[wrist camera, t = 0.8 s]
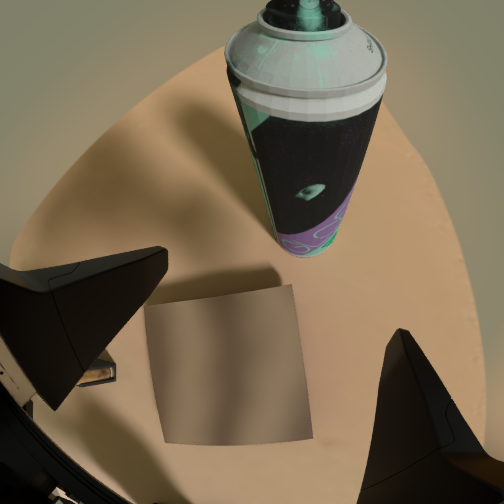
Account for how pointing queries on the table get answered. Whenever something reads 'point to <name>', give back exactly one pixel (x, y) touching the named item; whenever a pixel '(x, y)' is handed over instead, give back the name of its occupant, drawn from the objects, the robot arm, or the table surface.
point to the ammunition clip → (98, 374)
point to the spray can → (306, 113)
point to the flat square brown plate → (229, 369)
